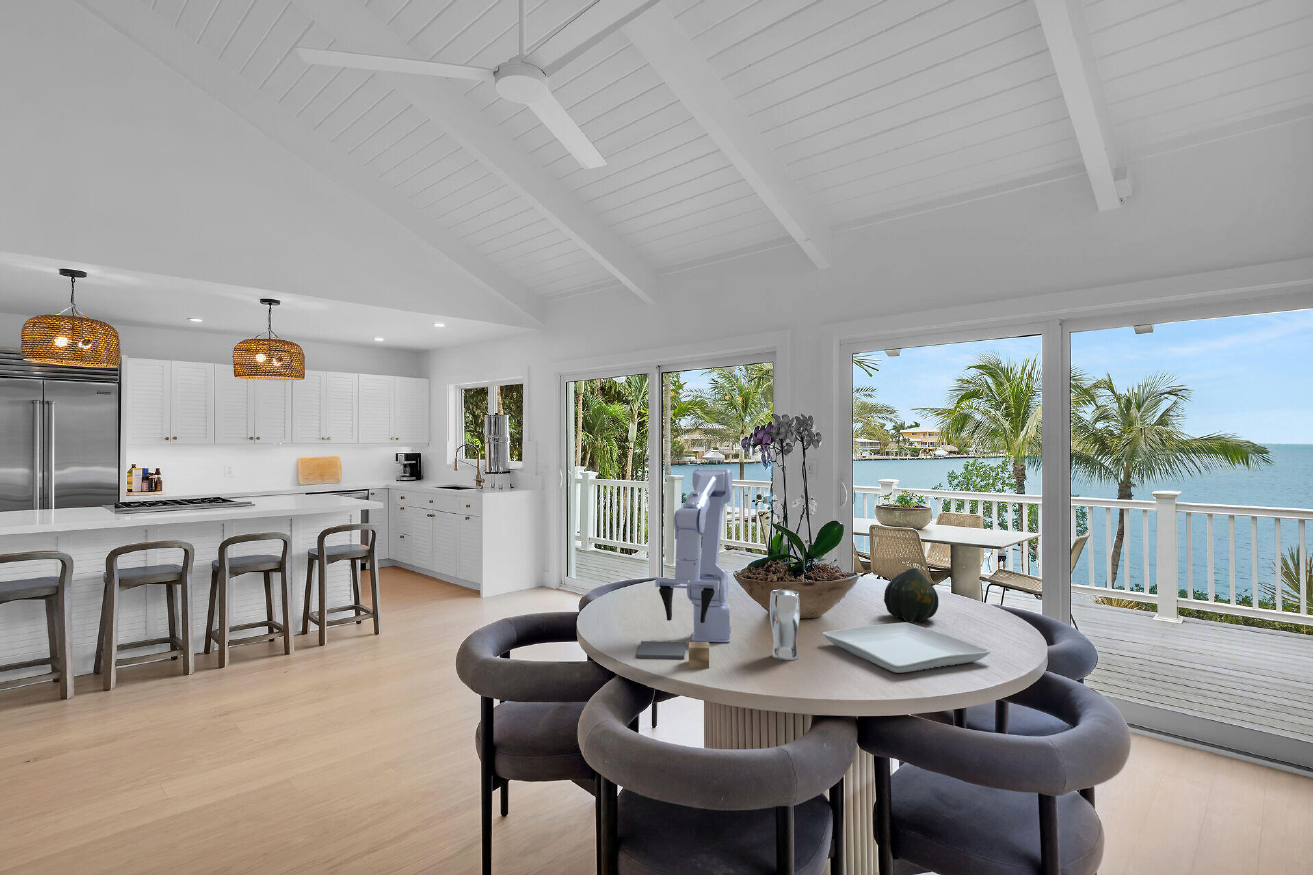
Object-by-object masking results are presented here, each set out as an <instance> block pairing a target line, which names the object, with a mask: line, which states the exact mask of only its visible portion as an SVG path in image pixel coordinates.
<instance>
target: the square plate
mask: <svg viewBox="0 0 1313 875" xmlns="http://www.w3.org/2000/svg"><path fill="white" fill-rule="evenodd" d="M822 635H823V636H824V638H826V640H827V641H829V642H830V643H831V644H833V645H835V646H837V647H839V648H842V649H843V650H845V651H847V652H848V653H850V654H853V655H855V656H857V657H859V658H862V659H864V660H865V661H868V660H869V661H868V662H870V661H871V663H873V664H875V665H877V666H878V667H881V668H883V669H885V670H887V671H890V672H893V673H897V674H900V673H901V674H902V673H910V672H911V673H912V672H918V671H923V669H925V670H930V669H929V668H931V669H935V668H934V667H938V668H941V666H944V667H948V666H947V665H951V666H954V665H955V664H957V665H959V664H960V665H961V664H967V663H973V662H974V663H975V662H977V661H980V660H982V659H984V658H985V657H987V656H988V655H989V654H990V653H991V650H988V649H986V648H983V647H980V646H978V645H975V644H973V643H970V642H967V641H965V640H962V639H959V638H957V637H953V636H951V635H948V634H945V633H943V632H939V631H936V630H933V629H930V628H927V627H923V626H920V625H916V624H913V623H912V622H895V623H883V624H882V623H881V624H872V625H864V626H863V625H862V626H856V627H855V626H854V627H848V628H841V629H837V630H829V631H823V632H822ZM955 666H956V665H955ZM917 670H918V671H917Z"/></svg>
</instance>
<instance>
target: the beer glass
mask: <svg viewBox="0 0 1313 875" xmlns="http://www.w3.org/2000/svg"><path fill="white" fill-rule="evenodd" d="M769 598H770V599H769V619H770V624H771V625H770V626H771V631H772V638H773V647H772V651H771V652H772V653H771V656H772V658H773V659H774V660H778V661H788V662H789V661H796V660H798V658H799V653H798V648H797V639H798V638H797V637H798V631H799V624H800V617H801V607H800V606H801V605H800V604H801V603H800V602H801V601H800V592H798V591H797V590H793V589H792V590H791V589H774V590H771V591H770V597H769Z"/></svg>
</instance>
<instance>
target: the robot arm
mask: <svg viewBox="0 0 1313 875" xmlns="http://www.w3.org/2000/svg"><path fill="white" fill-rule="evenodd" d="M691 480H692V487H693V488H692V489H694V491H692V492H690V493H689V494H688V495H687V497H686V500H685V501H684V503H683V505H682V506H681V508H678V510H675V512H674V517H673V527H674V539H675V541H676V545H675V547H676V549H675V567H674V568H675V572H674V573H675V574H674V578H665V577H663V578H660V577H655V585H654V587H656V588H659V589H658V592H659V595H660V597H661V599H662V602H663V606H664V610H665V613H666V621H669V622H670V621H672V620H673V619H672V618H673V598H674V597H673V596H674V588H675V589H686V596H687V598H688V599H689V601H691V604H692V605H693V631H692V633H691V642H709V643H730V634H731V633H732V631H731V629H732V628H731V624H730V621H731V620H730V616H731V615H730V614H731V613H730V604H729V603H726V601H727V600H728V597H729V596H728V594H729V582H728V581H729V580H728V579H729V577H728V574H727V572H726V571H725V570H724V569H723V568H721V567H720V566H719V562H720V560H719V559H720V558H719V557H720V548H721V547H720V546H721V536H722V534H721V533H722V522H723V521H722V520H723V513H724V508H725V505H726V504H728V503H730V502H731V499H732V491H733V473H732V471H731V469H730V468H728V467H727V468H700V467H696V468H695V469H694V470H693V473H692V479H691Z"/></svg>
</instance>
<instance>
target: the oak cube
mask: <svg viewBox="0 0 1313 875" xmlns="http://www.w3.org/2000/svg"><path fill="white" fill-rule="evenodd" d="M688 668H691V669H692V668H693V669H695V668H696V669H710V642H693V641H689V643H688Z"/></svg>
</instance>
